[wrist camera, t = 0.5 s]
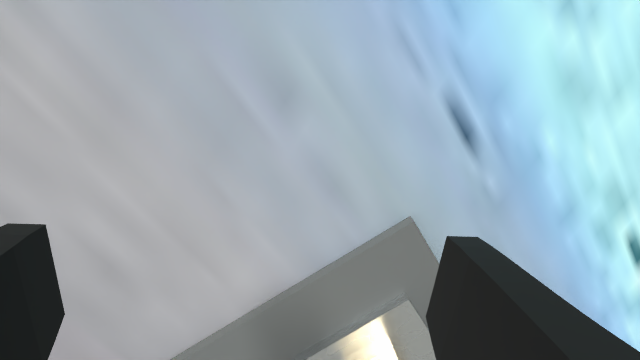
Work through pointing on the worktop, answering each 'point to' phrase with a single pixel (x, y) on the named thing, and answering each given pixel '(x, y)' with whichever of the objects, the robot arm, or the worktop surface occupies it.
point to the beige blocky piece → (378, 336)
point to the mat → (329, 299)
